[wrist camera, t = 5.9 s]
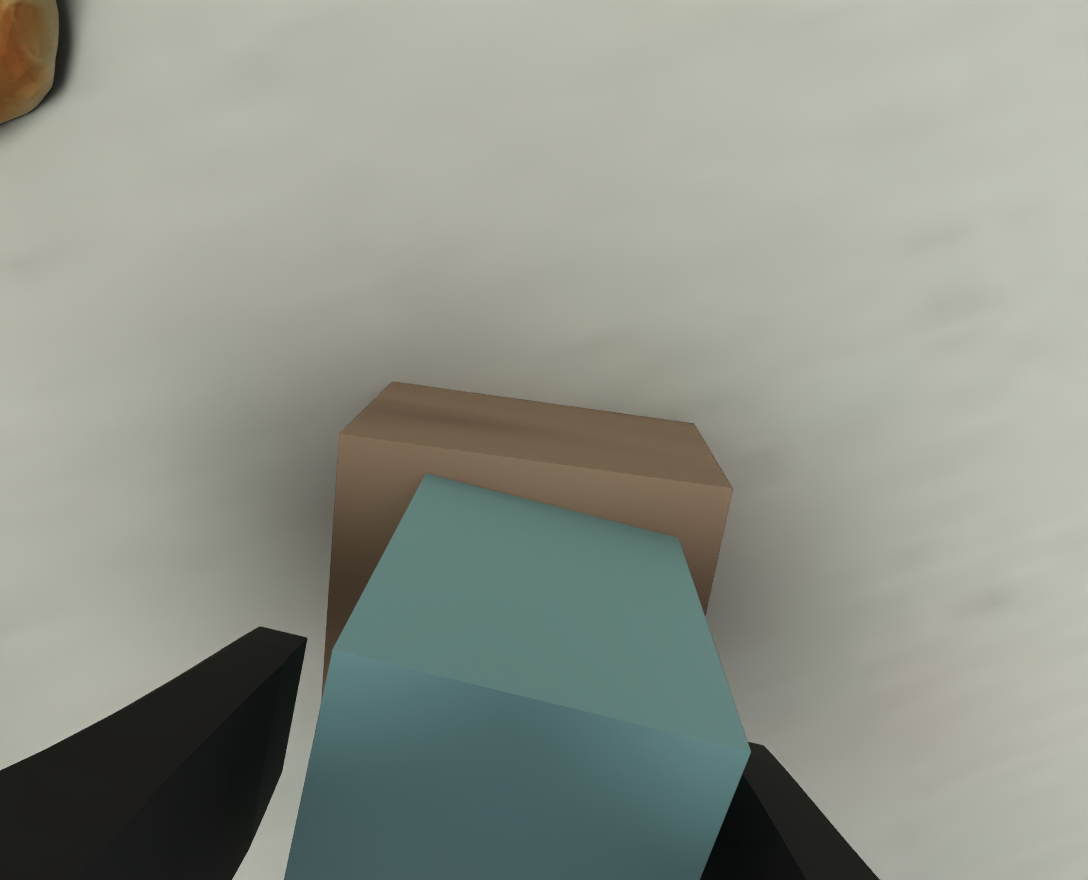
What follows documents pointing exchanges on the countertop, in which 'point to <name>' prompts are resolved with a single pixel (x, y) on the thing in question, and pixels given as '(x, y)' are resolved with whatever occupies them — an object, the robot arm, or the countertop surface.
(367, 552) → the walnut block
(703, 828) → the teal block
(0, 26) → the pastry
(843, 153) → the countertop surface
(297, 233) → the countertop surface
